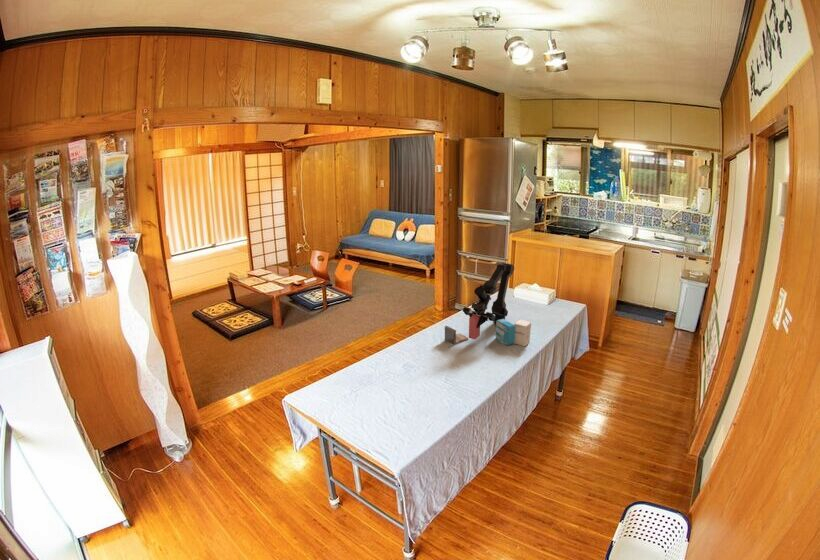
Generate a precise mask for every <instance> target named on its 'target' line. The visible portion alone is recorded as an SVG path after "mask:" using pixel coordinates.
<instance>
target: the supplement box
mask: <svg viewBox="0 0 820 560" xmlns="http://www.w3.org/2000/svg"><path fill="white" fill-rule="evenodd" d="M513 325H514V326H515V339H514V344H516V345H520V346H523V347H526V346H527V345H528V344H529V343H530V340H531V339H530V337H531V329H532V321H527V320H523V319H518V320H517V321H516V322H515V323H514V324H513Z"/></svg>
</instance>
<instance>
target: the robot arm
mask: <svg viewBox="0 0 820 560" xmlns="http://www.w3.org/2000/svg"><path fill="white" fill-rule="evenodd" d="M514 271H515V266H514V264H513V263H508V262H502V263H497V265H496V268H495V270H494V271H493V273H492V274H491V276H490V278H489V280H486V281H484V283H483V285H482V284H481V285H479V286H477V287H476V288H475V289H474V291H473V292H474V295H475V296H476V298H478V301H476V302H472V303H471V307H467V306H464V307H463V308H462V312H463V313H464V314H465V316H469V318H470V317H471V316H473V315H474V314H475V315H478V316H480V320H479V322H478V324H477V327H476V328H479V327H480V328H481V326H482V325H483V324H484V323H485V322H488V321H491V322H493V324H494V325H495V326H496V321H497V320H501V319H505V320H506V317H508V314H509V310H508V309H507V304H506V301H505V300H506V295H507V289H508V284H509V279H510V277H512V276H513V273H514ZM499 281H500V282H499ZM498 282H499V286H498V291H497V284H498ZM496 291H497V292H498V293H497V296H496V299H495V300H494V301H493V302H492V306H491V312H488V311H487V312H486V310H488V305H489V302H490V301H491V300H492V297H491V295H494V294H495V293H496Z"/></svg>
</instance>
